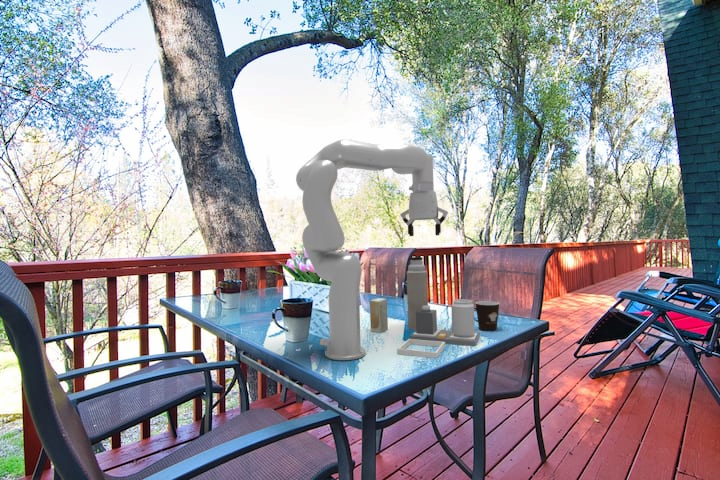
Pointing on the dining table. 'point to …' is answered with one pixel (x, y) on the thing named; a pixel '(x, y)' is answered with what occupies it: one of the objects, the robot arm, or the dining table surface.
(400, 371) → the dining table surface
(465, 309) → the can
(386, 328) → the skincare box
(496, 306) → the coffee mug
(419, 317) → the plug block
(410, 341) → the tray
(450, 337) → the grey flat piece
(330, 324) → the robot arm
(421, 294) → the thermos bottle
